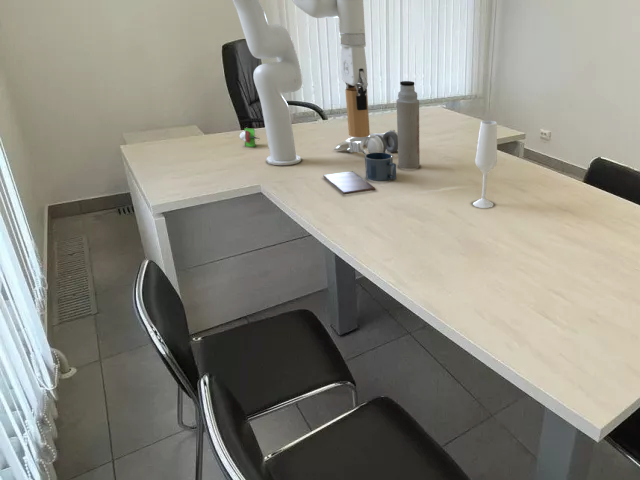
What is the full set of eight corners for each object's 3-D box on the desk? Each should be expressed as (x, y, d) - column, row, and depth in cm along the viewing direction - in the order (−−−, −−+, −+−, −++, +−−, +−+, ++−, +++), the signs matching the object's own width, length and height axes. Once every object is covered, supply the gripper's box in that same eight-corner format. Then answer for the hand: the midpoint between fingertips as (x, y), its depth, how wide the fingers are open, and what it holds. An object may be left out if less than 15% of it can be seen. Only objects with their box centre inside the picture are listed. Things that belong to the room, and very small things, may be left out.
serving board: (323, 178, 186) (323, 175, 186) (352, 174, 191) (352, 171, 190) (344, 196, 173) (343, 192, 172) (375, 191, 178) (374, 187, 177)
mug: (360, 178, 188) (358, 155, 183) (380, 172, 194) (379, 150, 189) (386, 186, 181) (385, 163, 177) (405, 180, 187) (405, 158, 182)
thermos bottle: (421, 165, 202) (421, 80, 184) (416, 171, 196) (415, 84, 178) (401, 163, 203) (399, 79, 186) (395, 169, 197) (393, 82, 179)
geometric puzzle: (247, 136, 219) (239, 122, 211) (263, 137, 218) (255, 123, 211) (244, 151, 217) (235, 137, 210) (260, 152, 217) (251, 138, 209)
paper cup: (346, 133, 175) (342, 88, 167) (364, 131, 178) (361, 87, 169) (353, 138, 171) (350, 92, 162) (372, 136, 173) (370, 90, 165)
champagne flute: (478, 209, 167) (483, 125, 152) (469, 202, 172) (473, 120, 157) (497, 206, 170) (504, 124, 154) (487, 199, 174) (493, 119, 159)
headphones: (410, 148, 217) (371, 146, 228) (408, 128, 213) (368, 126, 224) (374, 160, 203) (334, 157, 214) (371, 138, 199) (330, 136, 210)
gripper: (330, 37, 162) (336, 103, 173) (352, 44, 150) (357, 114, 162) (353, 36, 165) (357, 101, 176) (376, 43, 153) (379, 112, 165)
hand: (357, 107), depth 169 cm, fingers closed on paper cup, 6 cm apart
